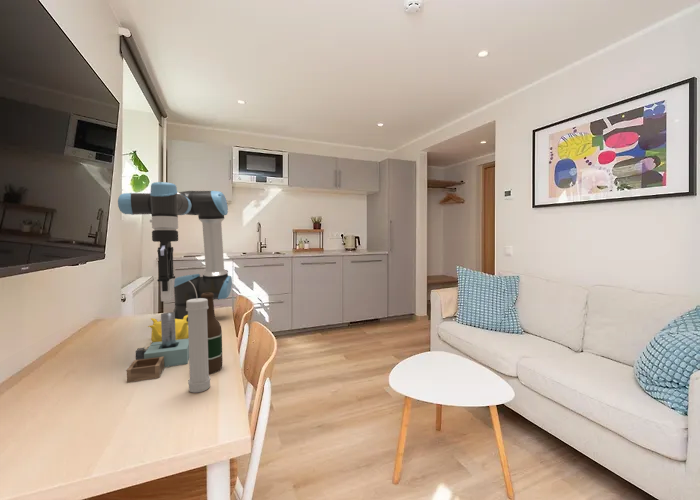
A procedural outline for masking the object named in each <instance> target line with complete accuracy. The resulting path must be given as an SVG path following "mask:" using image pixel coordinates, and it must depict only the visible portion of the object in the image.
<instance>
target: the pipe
mask: <svg viewBox="0 0 700 500" xmlns="http://www.w3.org/2000/svg"><path fill="white" fill-rule="evenodd" d="M188 281H189V280H188ZM189 282H190V283H191V284H192V285H193V283H192V282H191V281H189ZM193 287H194V285H193ZM194 289H195V287H194ZM195 292H196V289H195ZM196 297H197V292H196ZM186 306H187V308H186V311H188V335H189V360H188V365H189V379H188V381H187V382H188V383H187V384H188V391H189V392H191V393H202V392H204V391H207V390H208V389H210V387H211V376H210V374H209V366H208V330H207V309H209V307H208V300H207V299H205V298H197V299H190V300H188V301H187V302H186Z"/></svg>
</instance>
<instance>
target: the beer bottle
mask: <svg viewBox="0 0 700 500" xmlns="http://www.w3.org/2000/svg"><path fill="white" fill-rule="evenodd" d="M213 296H214V294H213V293H211V292H208V293H203V294H201V298H205V299H207V300H208V307H209V309H207V330H208V366H209V375H212V374H215V373H217V372H219V371H221V369H222V367H223V332H222V325H221V323H220V321H219V320H218V319H217V317H216V314H215V304H214V299H213Z"/></svg>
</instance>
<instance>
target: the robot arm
mask: <svg viewBox="0 0 700 500" xmlns="http://www.w3.org/2000/svg"><path fill="white" fill-rule="evenodd" d="M227 202H228V201H227V198H226V196H225V194H224V193H223V192H222V191H218V190H185V191H178V187H177V185H176V184H175V183H173V182H172V183H171V182H168V181H167V182H164V181H156V182H153V183H151V185H150V192H149V193H148V192H147V193H145V192H144V193H140V192H139V193H138V192H135V193H134V192H133V193H132V192H129V193H128V192H126V193H121V194H119V195H118V199H117V207H118V209H119V211H120V212H121V213H122V214H124V215H132V216H133V215H151V219H149V223H151V228H152V229H153V230H152V231H151V241H153V242H154V243H155V242H158V243H159V247H157V259H158V279H157V280H156V281H157V282H160V302H170V301H172V299H174V308H173V311H172V312H175V319H183V318H184V316H186V315H188V311H186V308H187V306H186V302H187V301H188V300H190V299H197V298H201V294H203V293H208V292H211V293H213V294H214V296H213V300H225V299H227V298H229V296H230V295H231V292H232V285H233V277H232V276H231V275H228V274H229V273H228V270H226V269H225V262H224V261H225V260H224V245H223V244H224V243H223V242H224V241H223V228H222V222H223V221H224V220H225V216H227V215H228V212H229V211H228V210H229V209H228V203H227ZM185 215H187V216H188V215H189V216H198V218H197V219H198V221H200V222H201V225H202V237H203V248H204V249H203V250H204V251H203V252H204V253H203V254H204V263H205V271H204V272H203V273H202V276H201V274H200V273H194V274H187V275H181V276H177V277H176V275H174V274H175V273H174V247H173V246H172V243H171V242H179V231H178V230H177V229H179V216H185ZM188 280H189V281H191V282H192V283H193V285H194V287H195V289H196V292H197V297H196V292H195V289H194V287H193V285H192V284H191V283H190V282H189V281H188ZM186 321H187V322H188V317H187V320H186Z"/></svg>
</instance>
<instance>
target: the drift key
mask: <svg viewBox="0 0 700 500" xmlns="http://www.w3.org/2000/svg"><path fill="white" fill-rule="evenodd" d="M147 349H148V348H145V347H138V348H136V349H135V360H140V359H144V353H145V352H146V351H147Z"/></svg>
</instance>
